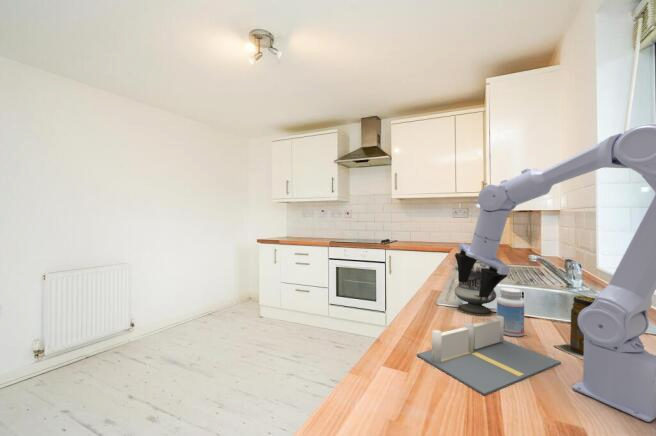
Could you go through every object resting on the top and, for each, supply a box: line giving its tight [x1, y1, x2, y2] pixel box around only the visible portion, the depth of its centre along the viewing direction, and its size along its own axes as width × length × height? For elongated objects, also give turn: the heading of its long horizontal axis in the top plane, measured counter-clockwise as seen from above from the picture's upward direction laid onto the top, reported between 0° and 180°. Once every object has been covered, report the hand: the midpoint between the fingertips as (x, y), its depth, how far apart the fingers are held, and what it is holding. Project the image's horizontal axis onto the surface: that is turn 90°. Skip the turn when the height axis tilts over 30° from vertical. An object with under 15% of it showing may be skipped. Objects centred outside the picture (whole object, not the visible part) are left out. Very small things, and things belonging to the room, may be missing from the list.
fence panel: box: [473, 315, 504, 349], centre depth 67 cm, size 10×2×6 cm, turn 117°
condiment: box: [552, 295, 596, 361], centre depth 65 cm, size 7×8×12 cm
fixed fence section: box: [431, 321, 475, 363], centre depth 62 cm, size 12×2×6 cm, turn 117°
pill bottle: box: [496, 287, 525, 337], centre depth 76 cm, size 6×6×11 cm
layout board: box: [416, 339, 562, 396], centre depth 61 cm, size 16×24×1 cm, turn 117°
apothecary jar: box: [454, 260, 497, 316], centre depth 94 cm, size 12×12×18 cm
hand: (472, 288), depth 72 cm, fingers open, 7 cm apart
